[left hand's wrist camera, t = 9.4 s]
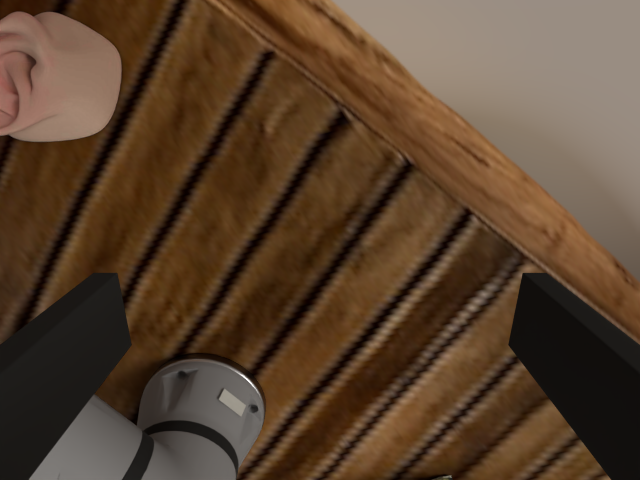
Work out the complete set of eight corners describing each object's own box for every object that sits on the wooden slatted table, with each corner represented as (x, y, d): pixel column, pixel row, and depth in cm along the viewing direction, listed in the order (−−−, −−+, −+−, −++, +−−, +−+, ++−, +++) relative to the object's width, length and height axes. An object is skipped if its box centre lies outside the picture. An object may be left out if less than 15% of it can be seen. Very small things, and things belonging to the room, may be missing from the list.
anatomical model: (93, 8, 31) (109, 154, 35) (118, 18, 34) (129, 149, 38) (-78, -7, 30) (-42, 142, 34) (-34, 4, 34) (-7, 138, 38)
